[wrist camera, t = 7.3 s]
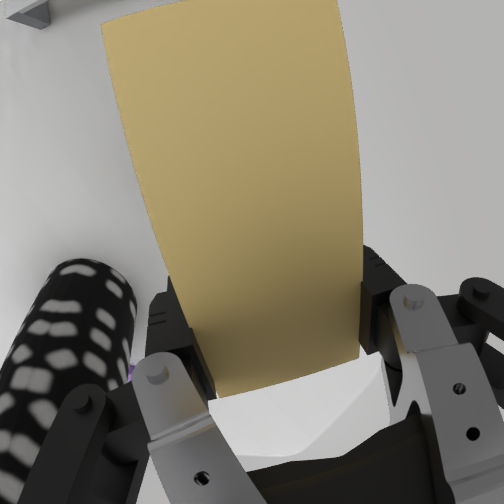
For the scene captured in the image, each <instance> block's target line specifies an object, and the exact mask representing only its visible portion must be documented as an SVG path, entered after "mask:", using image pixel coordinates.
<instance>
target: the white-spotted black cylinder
mask: <svg viewBox="0 0 504 504" xmlns="http://www.w3.org/2000/svg"><path fill="white" fill-rule="evenodd" d="M136 314H137V303H136V298H135V295H134V293H133V291H132V288H131V287H130V286H129V284H128V283H127V281H126V280H125V279H124V278H123V277H122V276H121V275H120V274H119V273H118V272H116V271H115V270H114V269H112V268H111V267H109V266H107V265H105V264H103V263H100V262H97V261H94V260H88V259H73V260H69V261H66V262H64V263H62V264H60V265H58V266H57V267H56V268H55V269H54V270H53V271H52V272H51V274H50V275H49V277H48V278H47V280H46V282H45V284H44V285H43V287H42V289H41V290H40V292H39V294H38V296H37V297H36V299H35V301H34V303H33V305H32V307H31V308H30V310H29V312H28V314H27V316H26V318H25V320H24V322H23V324H22V325H21V327H20V329H19V331H18V333H17V335H16V337H15V339H14V342H13V344H12V346H11V348H10V350H9V352H8V354H7V356H6V359H5V361H4V363H3V365H2V368H1V370H0V504H17V502H18V499H19V497H20V494H21V492H22V489H23V487H24V484H25V482H26V480H27V477H28V475H29V473H30V470H31V468H32V466H33V463H34V461H35V459H36V457H37V454H38V452H39V450H40V448H41V446H42V443H43V441H44V439H45V437H46V435H47V433H48V431H49V429H50V427H51V425H52V423H53V421H54V419H55V416H56V414H57V412H58V410H59V409H60V407H61V405H62V403H63V401H64V399H65V397H66V396H67V395H68V394H69V393H70V392H71V391H72V390H73V389H74V388H76V387H78V386H80V385H84V384H96V385H98V386H100V387H101V388H102V389H103V390H104V392H105V393H106V392H109V391H111V390H113V389H115V388H118V387H120V386H122V385H124V384H126V383H128V373H129V365H130V356H131V348H132V341H133V334H134V327H135V320H136Z"/></svg>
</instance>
